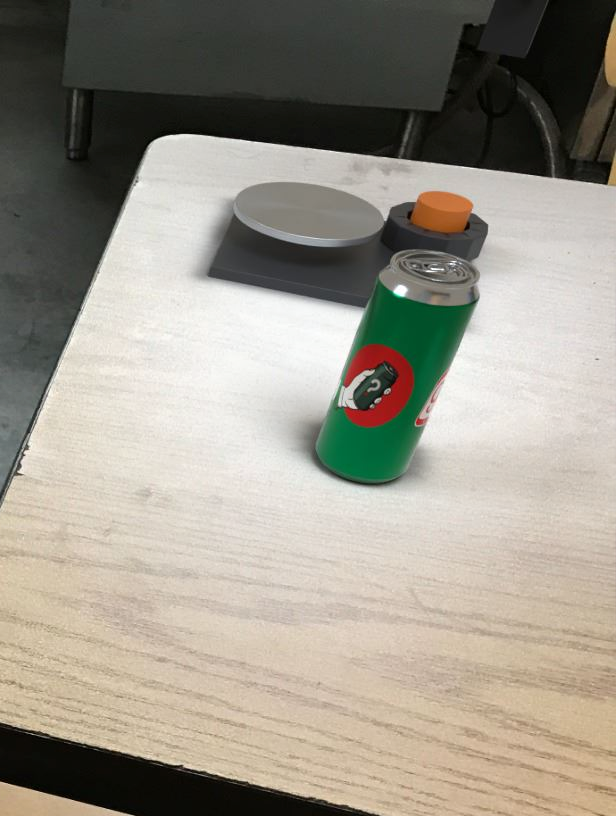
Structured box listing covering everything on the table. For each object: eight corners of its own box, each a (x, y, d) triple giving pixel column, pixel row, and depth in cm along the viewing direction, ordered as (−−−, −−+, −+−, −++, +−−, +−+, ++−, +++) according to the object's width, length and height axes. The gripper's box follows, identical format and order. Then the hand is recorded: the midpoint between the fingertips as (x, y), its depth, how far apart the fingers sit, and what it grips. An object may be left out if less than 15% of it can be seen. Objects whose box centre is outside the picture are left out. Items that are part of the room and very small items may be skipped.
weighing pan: (387, 205, 98) (390, 197, 97) (374, 259, 91) (378, 250, 90) (244, 180, 101) (247, 172, 100) (222, 230, 94) (224, 221, 93)
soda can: (412, 493, 76) (499, 292, 68) (319, 483, 76) (394, 282, 68) (395, 446, 80) (475, 250, 72) (306, 436, 80) (375, 241, 72)
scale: (470, 258, 99) (489, 212, 97) (461, 341, 90) (482, 292, 87) (236, 215, 104) (249, 169, 102) (204, 289, 95) (217, 240, 92)
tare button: (465, 220, 97) (474, 196, 96) (462, 239, 94) (472, 215, 93) (411, 211, 98) (420, 187, 97) (407, 229, 95) (416, 205, 94)
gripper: (627, -459, 72) (456, 14, 88) (598, -455, 64) (415, 67, 80) (789, -452, 70) (583, 36, 85) (781, -447, 61) (554, 93, 77)
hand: (502, 50), depth 83 cm, fingers closed
